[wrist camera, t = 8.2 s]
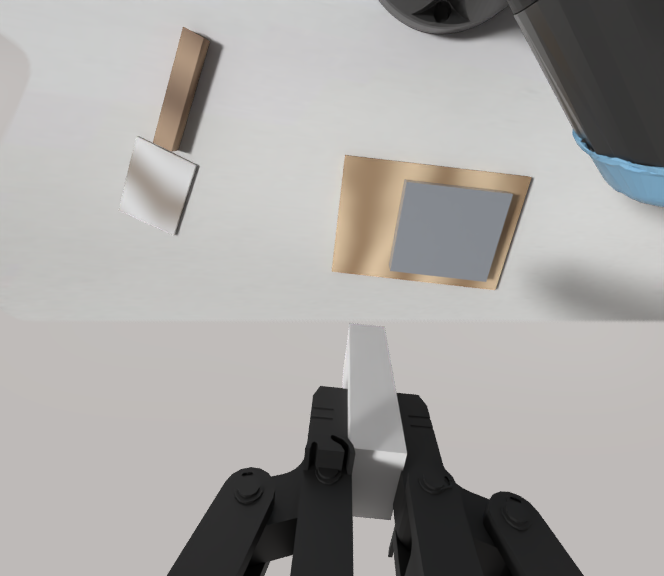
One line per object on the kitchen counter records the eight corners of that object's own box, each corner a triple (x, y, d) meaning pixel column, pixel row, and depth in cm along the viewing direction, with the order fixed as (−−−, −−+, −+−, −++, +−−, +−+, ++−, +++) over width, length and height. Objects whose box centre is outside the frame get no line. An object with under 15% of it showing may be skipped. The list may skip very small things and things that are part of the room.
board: (332, 269, 41) (331, 271, 40) (345, 155, 36) (345, 155, 35) (493, 287, 41) (495, 290, 40) (528, 176, 36) (531, 177, 35)
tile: (390, 271, 38) (486, 282, 38) (406, 181, 34) (513, 194, 34) (388, 264, 40) (480, 275, 40) (404, 178, 36) (505, 190, 36)
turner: (167, 18, 32) (158, 13, 30) (232, 53, 33) (227, 50, 31) (120, 209, 39) (111, 213, 38) (175, 234, 40) (168, 238, 39)
